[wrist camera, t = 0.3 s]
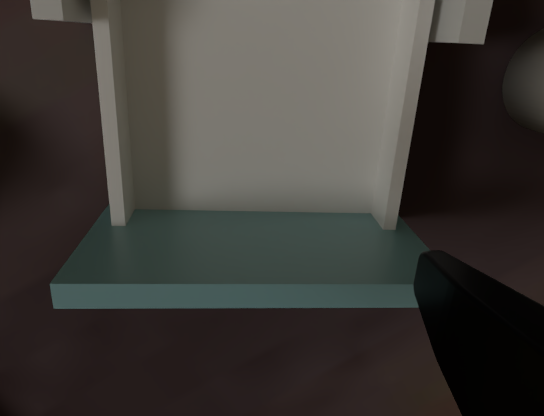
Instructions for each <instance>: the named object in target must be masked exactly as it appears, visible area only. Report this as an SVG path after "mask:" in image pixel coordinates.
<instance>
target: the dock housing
mask: <svg viewBox="0 0 544 416" xmlns="http://www.w3.org/2000/svg"><path fill="white" fill-rule="evenodd" d="M30 4H31V11H32V18H33V19H40V20H53V21H66V22H79V23H92V14H91V3H90V0H30ZM492 4H493V0H435V4H434V10H433V16H432V22H431V27H430V33H429V39H428V42H439V43H465V44H484V40H485V36H486V31H487V27H488V22H489V17H490V13H491V8H492Z"/></svg>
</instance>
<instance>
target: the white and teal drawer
mask: <svg viewBox="0 0 544 416" xmlns="http://www.w3.org/2000/svg"><path fill="white" fill-rule="evenodd" d="M90 3H91V14H92V24H93V35H94V45H95V56H96V66H97V77H98V88H99V98H100V109H101V119H102V130H103V140H104V151H105V162H106V172H107V183H108V193H109V205H108V206H107V207H106V209H105V210H104V212H103V213H102V214H101V216H100V217H99V218H98V220H97V221H96V222H95V224H94V225H93V226H92V228H91V229H90V230H89V232H88V233H87V234H86V236H85V237H84V238H83V240H82V241H81V242H80V244H79V245H78V246H77V248H76V249H75V251H74V252H73V253H72V255H71V256H70V257H69V259H68V260H67V261H66V263H65V264H64V265H63V267H62V268H61V269H60V271H59V272H58V273H57V275H56V276H55V277H54V279H53V280H52V281H51V283H50V289H51V295H52V301H53V307H54V309H102V308H398V307H419V306H418V303H417V300H416V297H415V294H414V288H413V283H414V278H415V273H416V268H417V263H418V258H419V255H420V254H421V253H422V252H423V251H430V250H429V249H428V247H427V246H426V245H425V244H424V243H423V242H422V241H421V240H420V239H419V237H418V236H417V235H416V234H415V233H414V232H413V231H412V230H411V229H410V227H409V226H408V225H407V224H406V223H405V222H404V221H403V220H402V219H401V218H400V216H399V215H398V212H399V207H400V201H401V195H402V189H403V184H404V178H405V172H406V166H407V160H408V155H409V149H410V143H411V137H412V132H413V126H414V120H415V114H416V108H417V103H418V97H419V91H420V85H421V79H422V74H423V68H424V62H425V56H426V51H427V45H428V39H429V33H430V27H431V22H432V16H433V10H434V4H435V0H90Z"/></svg>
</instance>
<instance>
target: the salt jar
mask: <svg viewBox="0 0 544 416" xmlns="http://www.w3.org/2000/svg"><path fill="white" fill-rule="evenodd" d="M502 95H503V101H504V105H505V108H506V110H507V112H508V114H509V115H510V117H511V118H512V119H513V120H514V121H515V122H516V123H518V124H519V125H521V126H522V127H525V128H527V129H530V130H533V131H537V132H540V133H543V134H544V29H542V30H540V31H538V32H536V33H535V34H533V35H532V36H531V37H529V38H528V39H527V40H526V41H525V42H524V43H523V44H522V45H521V46H520V47H519V48H518V50H517V51H516V52H515V54H514V55H513V57H512V58H511V60H510V62H509V64H508V66H507V69H506V72H505V75H504V79H503V86H502Z"/></svg>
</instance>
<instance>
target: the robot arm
mask: <svg viewBox="0 0 544 416" xmlns="http://www.w3.org/2000/svg"><path fill="white" fill-rule="evenodd" d="M413 288H414V294H415V297H416V300H417V303H418V306H419V309H420V312H421V315H422V318H423V321H424V324H425V327H426V330H427V333H428V336H429V339H430V342H431V345H432V348H433V351H434V354H435V357H436V359H437V362H438V364H439V366H440V369H441V371H442V373H443V375H444V377H445V380H446V382H447V384H448V386H449V388H450V390H451V392H452V395H453V397H454V399H455V401H456V403H457V405H458V408H459V410H460V412H461V414H462V416H544V306H543V305H541V304H539V303H538V302H536V301H534V300H532V299H530V298H528V297H526V296H525V295H523V294H521V293H519V292H517V291H515V290H514V289H512V288H510V287H508V286H506V285H504V284H502V283H501V282H499V281H497V280H495V279H493V278H491V277H490V276H488V275H486V274H484V273H482V272H480V271H479V270H477V269H475V268H473V267H471V266H469V265H467V264H466V263H464V262H462V261H460V260H458V259H456V258H455V257H453V256H451V255H449V254H447V253H445V252H443V251H440V250H436V251H423V252H422V253H421V254H420V255H419V258H418V263H417V268H416V273H415V278H414V283H413Z"/></svg>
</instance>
